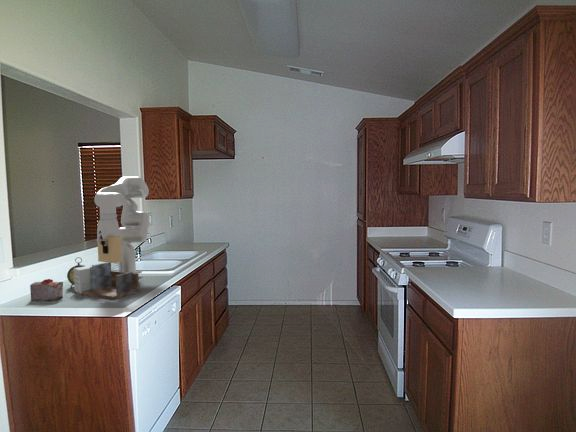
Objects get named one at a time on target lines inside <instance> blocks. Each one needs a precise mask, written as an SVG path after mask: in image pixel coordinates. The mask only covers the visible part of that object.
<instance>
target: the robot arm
mask: <svg viewBox="0 0 576 432" xmlns="http://www.w3.org/2000/svg"><path fill="white" fill-rule="evenodd" d="M148 196H149V187H148V185H147V183H146V181H145V180H144V179H143V178H142V177H141V176H121V177H120V178H119V179H118V180H117V181H116V182H115V183H114V184H111V185H109V186H106V187H102V188H101V189H99V190H98V191H97V193H96V194H95V196H94V204H95V205H96V206H97V207H98V208H99V220H98V222H97V229H96V237H97V238H96V242H97V243H98V242H99V243H100V244H101V245H102V246H103V253H105V254H108V246H107V241H108V239H109V237H114V236H118V237H121V260H122V262H118V263H117V268H118V270H117V271H120V272H128V273H129V272H133V273H137V274H138V278H140V276H139V275H140V274H142V273H143V271H142V270H141V269H140V270H137V269H136V268H137V267H136V265H137V264H136V249H135V247H134V246H133V243H134V244H137V243H138V244H139V243H144V242H146V241H147V238H148V232H149V223H150V217H149V216H150V215H149V214H148V212H146V211H138V210H139V205H138V204H137V203H136V201H134V200H133V199H136V198H137V199H140V198H141V199H143V198H145V199H146V198H147V197H148ZM119 207H122V211H121V215H120V216H121V217H120V224H121V227H119V221H118V219H117V218H118V214H117V208H119ZM101 239H102V240H101ZM104 241H105V242H104Z"/></svg>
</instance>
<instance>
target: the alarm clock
mask: <svg viewBox="0 0 576 432" xmlns="http://www.w3.org/2000/svg"><path fill="white" fill-rule="evenodd" d="M74 259H75V260H74V261H75V263H76V265H74V266H72V267H70V268H69V270H68V272H67V274H66V276H67V277H66V278H67V281H68V282H69V284H71V285H70V288H72V287H73V286H75V282H74V268H79V267H85V266H86V265H84V264H81V263H82V262H83V259H82V257H80V256H79V257H75V258H74ZM77 259H80V262H77Z"/></svg>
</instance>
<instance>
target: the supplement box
mask: <svg viewBox="0 0 576 432" xmlns="http://www.w3.org/2000/svg"><path fill="white" fill-rule="evenodd" d="M84 266H85V267H79V268H74V282H75V285H74V292H76V293H78V294H82V295H83V293H82V292H84V291H87V290H91V280H90V267H91V266H90V265H84Z"/></svg>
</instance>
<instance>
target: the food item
mask: <svg viewBox="0 0 576 432" xmlns="http://www.w3.org/2000/svg"><path fill="white" fill-rule="evenodd" d="M63 286H64V282H63V281H54V279H50V278H48V279H44V280H42V281H35V282H33V283H31V284H30V285H29V287H30V288H29V289H30V301H43V302H44V301H55V300H58V299H61V298H63V295H64V294H63V293H64V292H63V291H64V289H63Z"/></svg>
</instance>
